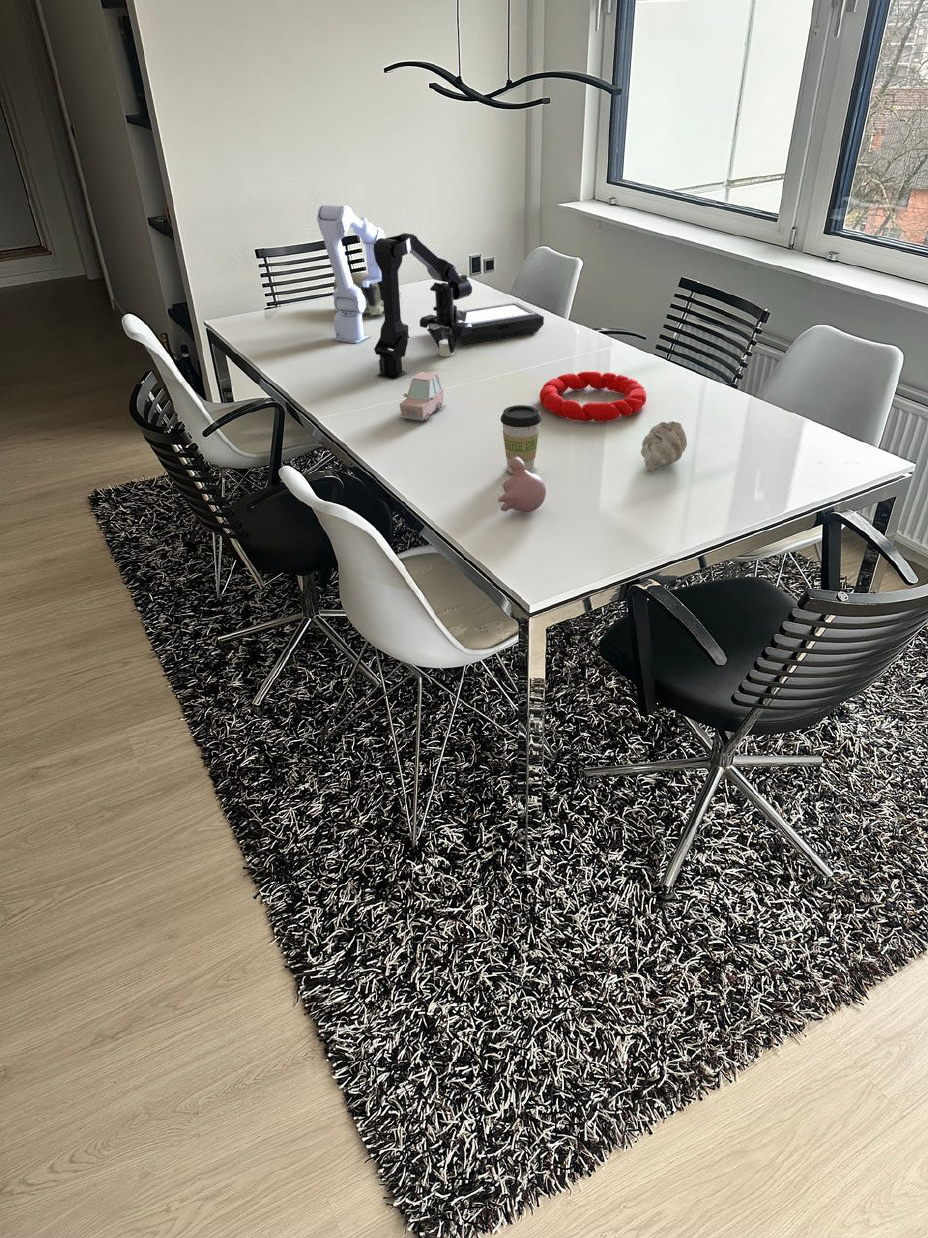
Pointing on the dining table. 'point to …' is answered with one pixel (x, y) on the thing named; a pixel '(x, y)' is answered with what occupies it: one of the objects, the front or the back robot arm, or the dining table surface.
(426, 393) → the toy car
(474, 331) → the electronic device
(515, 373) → the dining table surface
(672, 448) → the seashell
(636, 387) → the decorative ring
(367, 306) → the animal skull
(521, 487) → the figurine
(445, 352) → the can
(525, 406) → the coffee cup
